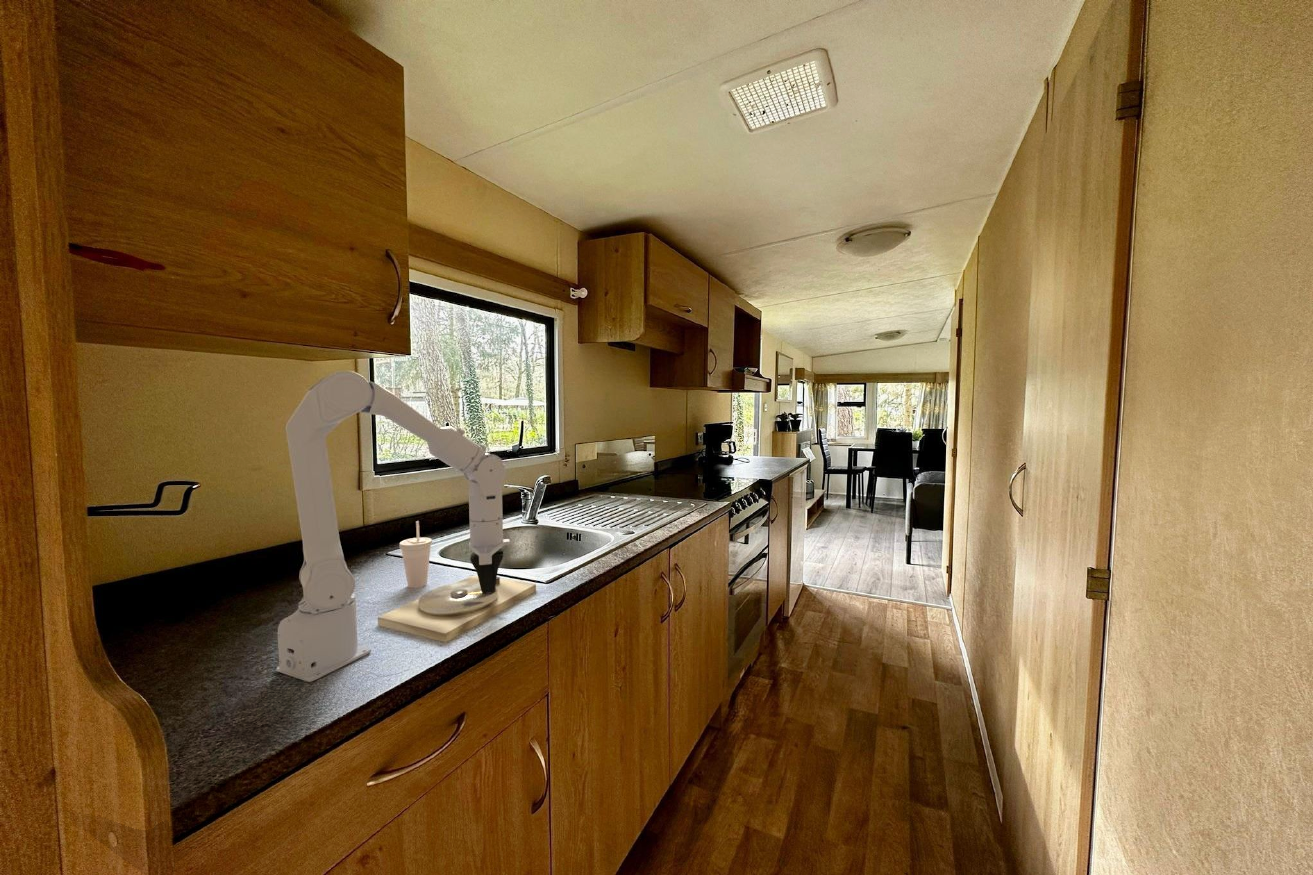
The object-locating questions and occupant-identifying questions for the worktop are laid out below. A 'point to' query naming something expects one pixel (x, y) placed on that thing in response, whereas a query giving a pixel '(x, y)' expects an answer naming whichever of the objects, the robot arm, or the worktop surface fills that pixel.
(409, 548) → the smoothie
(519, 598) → the stand plate
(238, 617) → the worktop surface
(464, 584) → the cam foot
